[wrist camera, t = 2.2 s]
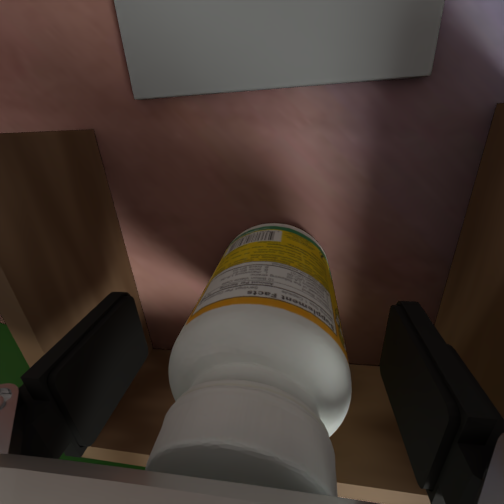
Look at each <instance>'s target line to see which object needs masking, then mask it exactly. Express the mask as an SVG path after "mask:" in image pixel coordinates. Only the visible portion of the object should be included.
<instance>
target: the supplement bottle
mask: <svg viewBox="0 0 504 504" xmlns="http://www.w3.org/2000/svg"><path fill="white" fill-rule="evenodd" d="M168 375H169V383H170V387H171V391H172V394H173V397H174V399H175V403H174V404H173V405H172V406H171V407H170V409H169V410H168V412H167V414H166V415H165V418H164V421H163V425H162V428H161V430H160V432H159V435H158V437H157V439H156V442H155V444H154V447H153V449H152V451H151V454H150V456H149V459H148V461H147V464H146V468H145V470H146V471H153V472H161V473H168V474H176V475H183V476H190V477H198V478H205V479H212V480H220V481H227V482H234V483H242V484H249V485H256V486H263V487H270V488H277V489H284V490H291V491H298V492H305V493H312V494H319V495H327V496H334V497H338V493H337V480H336V468H335V453H334V449H333V446H332V443H331V440H330V438H329V437H330V436H331V435H332V434H333V433H334V432H335V431H336V430H337V429H338V428H339V426H340V425H341V423H342V422H343V420H344V418H345V416H346V414H347V411H348V409H349V405H350V401H351V393H352V382H351V373H350V367H349V362H348V357H347V350H346V346H345V341H344V337H343V332H342V327H341V322H340V318H339V312H338V306H337V302H336V297H335V292H334V287H333V282H332V277H331V272H330V269H329V264H328V261H327V257H326V254H325V252H324V250H323V249H322V247H321V246H320V244H319V243H318V242H317V241H316V240H315V239H314V238H313V237H312V236H310V235H309V234H308V233H306V232H304V231H303V230H301V229H299V228H296V227H294V226H291V225H287V224H280V223H267V224H261V225H257V226H254V227H251V228H249V229H247V230H245V231H243V232H242V233H241V234H239V235H238V236H237V237H236V238H235V239H234V240H233V241H232V242H231V243H230V245H229V246H228V248H227V249H226V251H225V253H224V255H223V257H222V259H221V260H220V262H219V264H218V266H217V268H216V269H215V271H214V273H213V275H212V276H211V278H210V280H209V282H208V284H207V286H206V288H205V289H204V291H203V293H202V295H201V297H200V298H199V300H198V302H197V304H196V306H195V307H194V309H193V311H192V313H191V314H190V316H189V318H188V320H187V321H186V323H185V325H184V326H183V328H182V330H181V332H180V334H179V335H178V337H177V339H176V341H175V343H174V346H173V348H172V351H171V355H170V360H169V367H168Z"/></svg>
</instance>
